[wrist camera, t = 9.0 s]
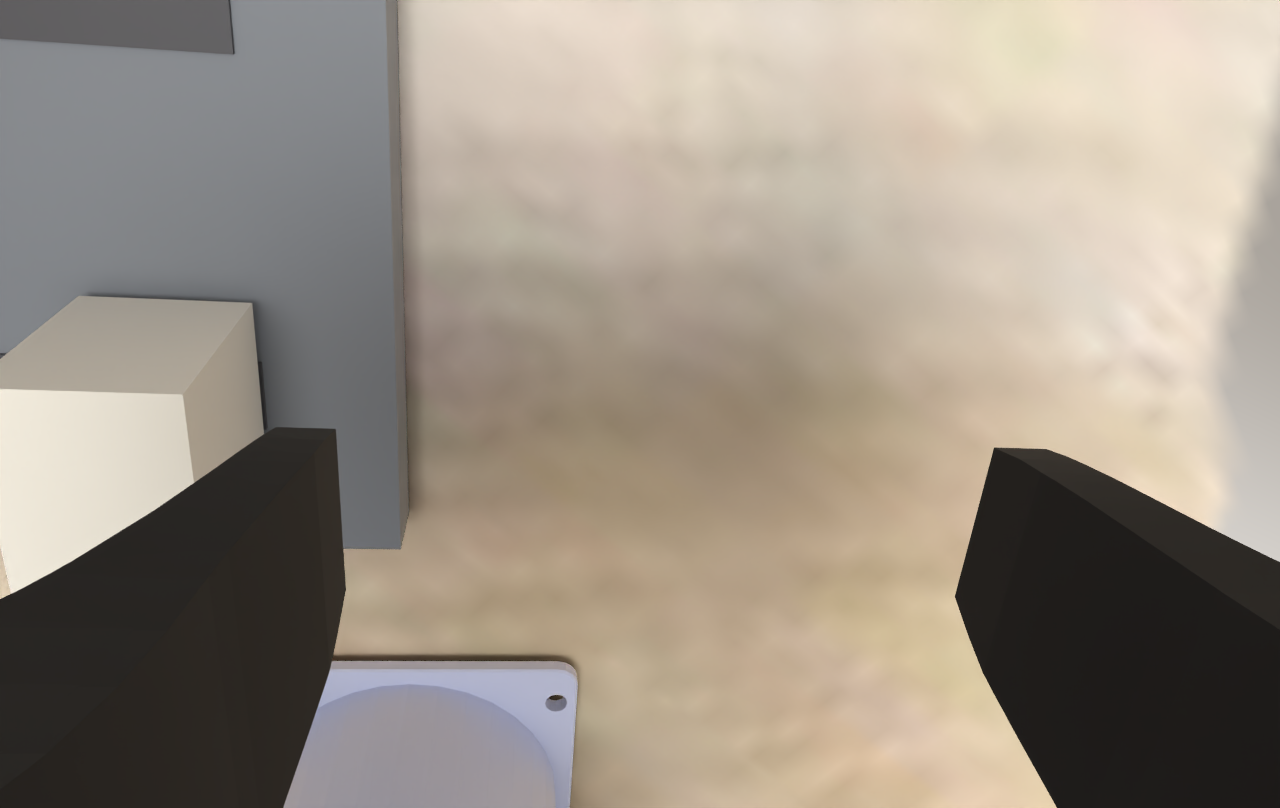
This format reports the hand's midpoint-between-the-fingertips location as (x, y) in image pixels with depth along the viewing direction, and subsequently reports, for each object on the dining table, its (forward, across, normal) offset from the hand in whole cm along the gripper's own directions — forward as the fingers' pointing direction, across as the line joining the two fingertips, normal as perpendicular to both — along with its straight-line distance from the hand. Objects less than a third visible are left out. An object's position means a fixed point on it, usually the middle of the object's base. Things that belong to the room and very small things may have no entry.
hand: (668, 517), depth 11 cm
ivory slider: (+8, +8, +3) cm, 12 cm away
